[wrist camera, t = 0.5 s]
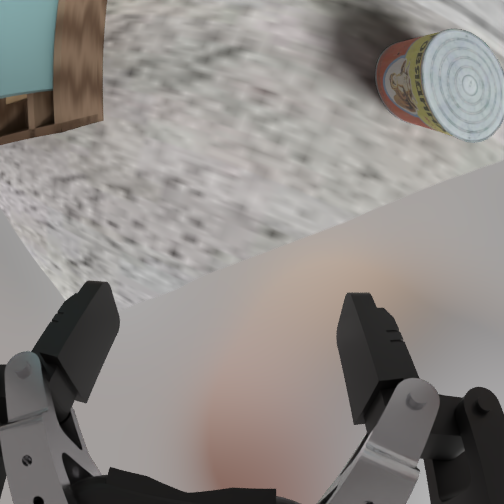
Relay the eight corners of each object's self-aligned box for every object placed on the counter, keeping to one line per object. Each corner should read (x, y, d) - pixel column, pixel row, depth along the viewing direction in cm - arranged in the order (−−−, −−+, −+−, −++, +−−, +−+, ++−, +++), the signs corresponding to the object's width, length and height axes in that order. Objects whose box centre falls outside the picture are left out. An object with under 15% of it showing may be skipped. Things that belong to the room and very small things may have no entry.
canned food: (363, 45, 28) (407, 28, 17) (438, 39, 26) (494, 31, 15) (386, 131, 33) (434, 150, 23) (456, 119, 31) (513, 136, 21)
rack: (16, -1, 21) (-24, -6, 13) (112, -40, 21) (78, -62, 13) (11, 137, 33) (-30, 153, 25) (103, 120, 33) (62, 132, 25)
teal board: (80, -7, 22) (-28, -37, 5) (93, -11, 22) (-14, -48, 5) (74, 88, 29) (-48, 110, 12) (87, 85, 29) (-36, 104, 12)
